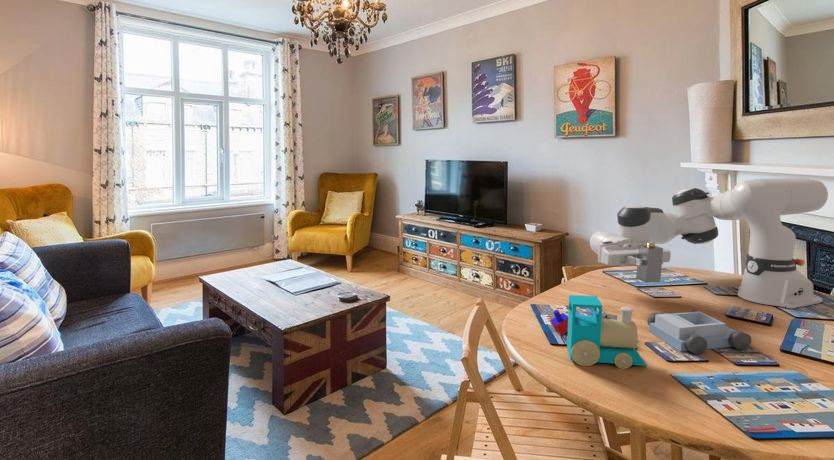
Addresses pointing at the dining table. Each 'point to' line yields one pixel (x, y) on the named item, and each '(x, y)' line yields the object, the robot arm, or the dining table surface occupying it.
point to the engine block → (650, 263)
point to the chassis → (696, 332)
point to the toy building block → (560, 322)
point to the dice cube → (609, 316)
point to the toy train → (601, 335)
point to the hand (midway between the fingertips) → (651, 262)
